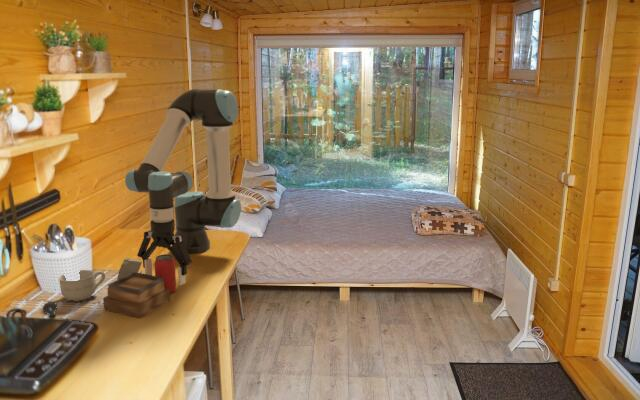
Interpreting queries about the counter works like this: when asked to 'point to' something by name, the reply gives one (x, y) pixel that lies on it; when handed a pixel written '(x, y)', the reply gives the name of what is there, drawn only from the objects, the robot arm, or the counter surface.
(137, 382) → the counter surface
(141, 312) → the tower base
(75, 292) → the teacup
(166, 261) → the beer can
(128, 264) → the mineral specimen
